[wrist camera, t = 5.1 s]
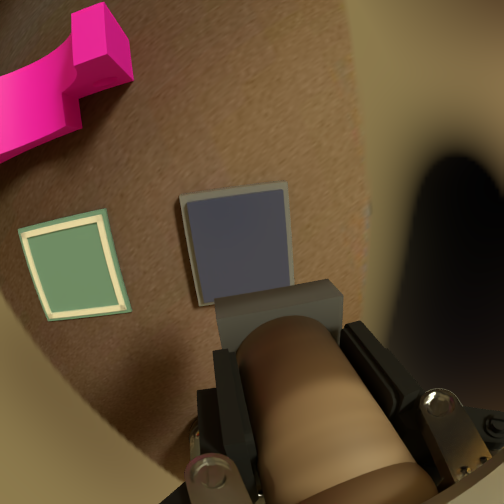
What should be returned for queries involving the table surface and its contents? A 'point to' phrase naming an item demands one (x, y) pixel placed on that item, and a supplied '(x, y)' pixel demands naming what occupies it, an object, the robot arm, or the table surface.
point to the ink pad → (238, 239)
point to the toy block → (62, 82)
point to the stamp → (313, 403)
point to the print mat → (75, 266)
